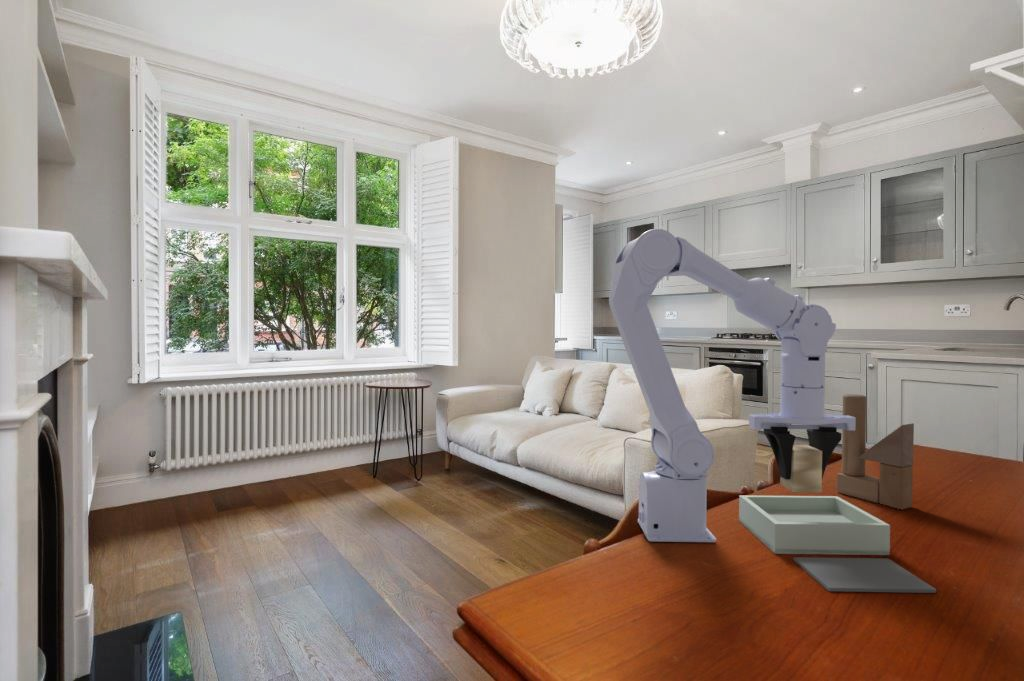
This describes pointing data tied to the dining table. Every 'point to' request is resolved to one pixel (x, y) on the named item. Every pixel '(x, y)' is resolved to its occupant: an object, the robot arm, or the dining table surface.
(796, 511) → the box
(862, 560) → the mat
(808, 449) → the birch block
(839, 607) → the dining table surface
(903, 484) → the wooden block structure
